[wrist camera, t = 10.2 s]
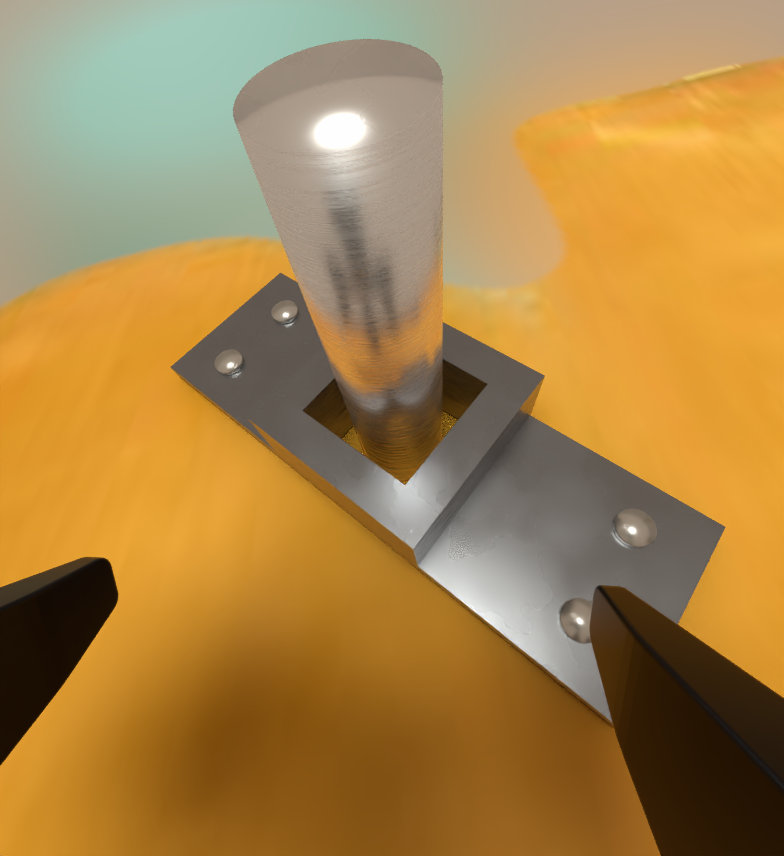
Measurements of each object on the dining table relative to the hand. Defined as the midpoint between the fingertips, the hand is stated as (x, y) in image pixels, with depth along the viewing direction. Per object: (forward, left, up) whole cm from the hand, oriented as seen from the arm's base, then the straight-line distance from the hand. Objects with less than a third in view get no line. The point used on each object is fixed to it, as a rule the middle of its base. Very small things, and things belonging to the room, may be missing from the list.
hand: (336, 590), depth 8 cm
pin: (+4, -6, -9) cm, 12 cm away
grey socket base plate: (+4, -6, -9) cm, 12 cm away
